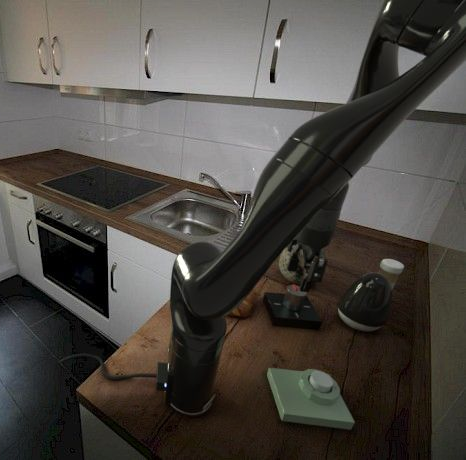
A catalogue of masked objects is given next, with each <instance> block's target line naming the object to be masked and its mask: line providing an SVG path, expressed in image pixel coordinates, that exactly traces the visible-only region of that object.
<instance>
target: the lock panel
mask: <svg viewBox="0 0 466 460" xmlns="http://www.w3.org/2000/svg"><path fill="white" fill-rule="evenodd" d="M285 294H286V293H283V292H282V293H281V292H269V291H267V292H266V291H264V294H263V297H262V302H263V305H264V308H265V310H266V313H267V314H268V317H269V320H270V322H271V325H272V327H279V328H290V329H291V328H292V329H299V330H310V331H320V330H321V326H322V324H323V320H322V318H321V317H320V314H319V313H318V311H317V310H316V308H315V307H314V305H313V303H312V302H311V300H310V299H309V297H308V295H306V297H305V300H304V303H303V306H302V309H301V310H300V311H291V310H289V309H287V308H286V307H284V305H283V301H284V297H285Z"/></svg>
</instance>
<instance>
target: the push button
mask: <svg viewBox="0 0 466 460" xmlns="http://www.w3.org/2000/svg"><path fill="white" fill-rule="evenodd" d="M327 374H328V373H326V372H324V371H322V372H321V370H319V371H314V372H312V374H311V376H310V379H309V383H310V385H311V386H312V387H313V388H314V389H315V390H317V391H319V392H321V393H328V392H329V391H330V389H331V387H332V385H333V381H332V379H333V378H332V377H331V378H332V379H331V378H330V376H331V375H330V376H328V375H327Z"/></svg>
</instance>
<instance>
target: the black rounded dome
mask: <svg viewBox="0 0 466 460" xmlns="http://www.w3.org/2000/svg"><path fill="white" fill-rule="evenodd" d="M392 300H393V289H391V285H390V282H389V280H388V279H387V278H386V277H385V276H384V275H382V274H380V273H378V272H376V271H375V272H374V271H371V272H370V271H369V272H366V273H363V274H362V275H360V276H359V277H358V278H356V279H355V280H354V281H353V282H352V283H351V284H350V285H349V286H348V287H347V288H346V289H345V290H344V292H343V293H342V295H341V296H340V297H339V300H338V301H337V310H338V315H339V317H340V319H341V320H342V322H344V323H345V324H346V325H347V326H348V327H350V328H352V329H355V330H357V331H361V332H374V331H377V330H378V329H379V330H380V328H382V327H383V326H385V325H386V324H387V323H388V320H389V317H390V314H391V309H392Z"/></svg>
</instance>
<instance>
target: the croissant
mask: <svg viewBox="0 0 466 460" xmlns="http://www.w3.org/2000/svg"><path fill="white" fill-rule="evenodd" d="M255 305H256V299H255V298H254V297H253V295H252V294H251V293H250V294H249V295H248V296H247V297H246V299H245V300H244V301H243V302H242V303H241V304H240V305H239V306H238V307H237V308H236V309H235V310H233V311H232V312H231V313H229V314H228V315H227V317H240V318H247V317H249V316H250V315H251V314H252V311H253V310H252V307H255Z"/></svg>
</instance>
